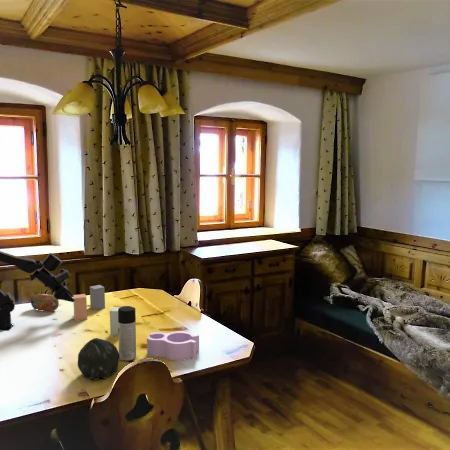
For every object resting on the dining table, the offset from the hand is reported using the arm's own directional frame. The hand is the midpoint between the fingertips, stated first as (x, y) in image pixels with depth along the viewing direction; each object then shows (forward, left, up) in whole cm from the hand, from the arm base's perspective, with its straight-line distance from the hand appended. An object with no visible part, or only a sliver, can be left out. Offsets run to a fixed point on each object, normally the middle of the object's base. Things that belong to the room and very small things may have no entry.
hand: (73, 298), depth 222 cm
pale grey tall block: (-20, -23, -10) cm, 32 cm away
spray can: (-46, -29, -10) cm, 55 cm away
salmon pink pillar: (+1, -3, -10) cm, 11 cm away
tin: (+15, +17, -10) cm, 24 cm away
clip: (-44, -47, -11) cm, 65 cm away
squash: (-59, -20, -10) cm, 63 cm away
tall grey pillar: (+16, -9, -10) cm, 21 cm away
